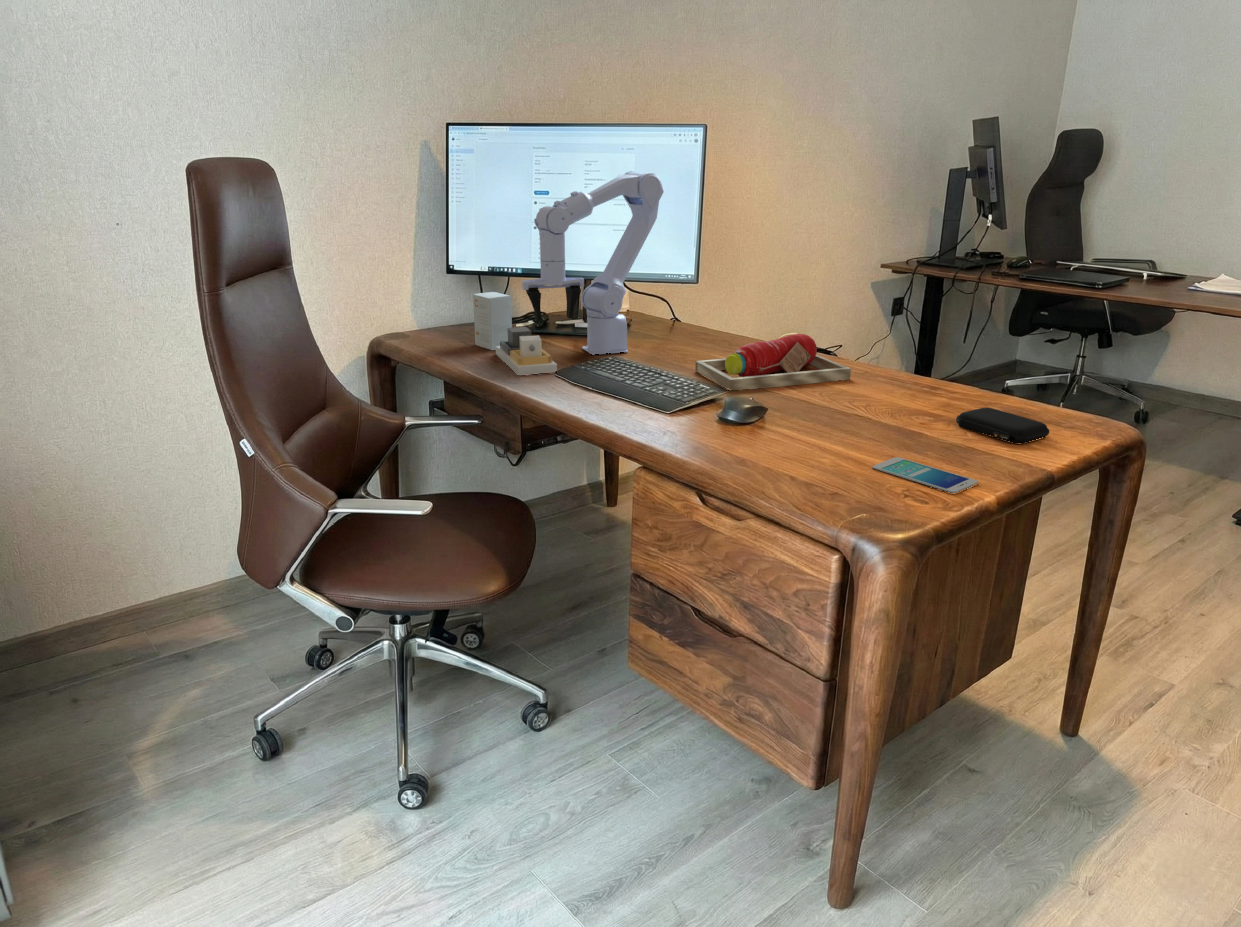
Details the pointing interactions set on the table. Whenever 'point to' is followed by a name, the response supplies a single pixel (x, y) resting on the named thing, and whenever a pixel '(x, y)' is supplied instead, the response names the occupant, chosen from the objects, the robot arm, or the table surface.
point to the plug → (530, 346)
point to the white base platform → (525, 360)
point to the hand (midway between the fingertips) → (554, 318)
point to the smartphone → (925, 475)
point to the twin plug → (517, 336)
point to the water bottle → (772, 356)
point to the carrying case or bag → (1002, 425)
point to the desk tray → (775, 375)
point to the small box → (491, 318)
